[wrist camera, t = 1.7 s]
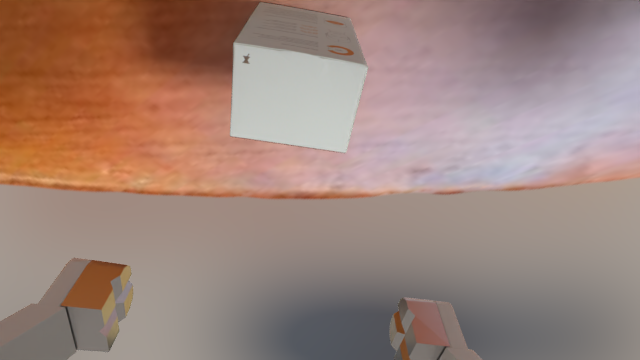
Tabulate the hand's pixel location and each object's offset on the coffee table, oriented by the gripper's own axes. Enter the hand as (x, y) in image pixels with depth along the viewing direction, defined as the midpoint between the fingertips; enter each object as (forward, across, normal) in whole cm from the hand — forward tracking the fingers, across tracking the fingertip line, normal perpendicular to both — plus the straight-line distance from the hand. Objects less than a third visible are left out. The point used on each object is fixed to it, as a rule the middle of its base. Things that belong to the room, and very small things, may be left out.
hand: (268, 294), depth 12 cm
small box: (+28, 0, 0) cm, 28 cm away
